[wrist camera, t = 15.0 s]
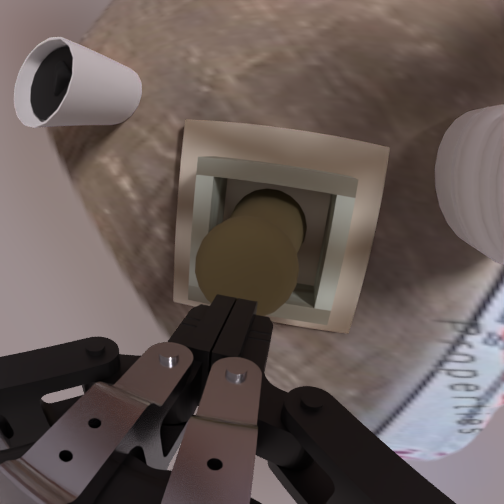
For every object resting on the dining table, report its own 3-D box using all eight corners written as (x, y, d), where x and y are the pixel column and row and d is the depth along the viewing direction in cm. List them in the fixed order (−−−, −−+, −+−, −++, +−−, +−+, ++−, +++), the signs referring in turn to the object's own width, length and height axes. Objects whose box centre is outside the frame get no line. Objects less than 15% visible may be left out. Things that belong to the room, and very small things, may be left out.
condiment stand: (190, 120, 24) (164, 114, 19) (385, 147, 22) (405, 146, 17) (178, 296, 29) (155, 322, 24) (346, 326, 27) (353, 360, 22)
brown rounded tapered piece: (245, 272, 26) (207, 347, 16) (219, 203, 25) (158, 239, 14) (316, 251, 24) (322, 321, 14) (292, 177, 23) (281, 195, 13)
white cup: (124, 49, 23) (54, 20, 13) (159, 94, 24) (89, 72, 14) (79, 98, 25) (5, 90, 15) (109, 144, 26) (32, 147, 16)
